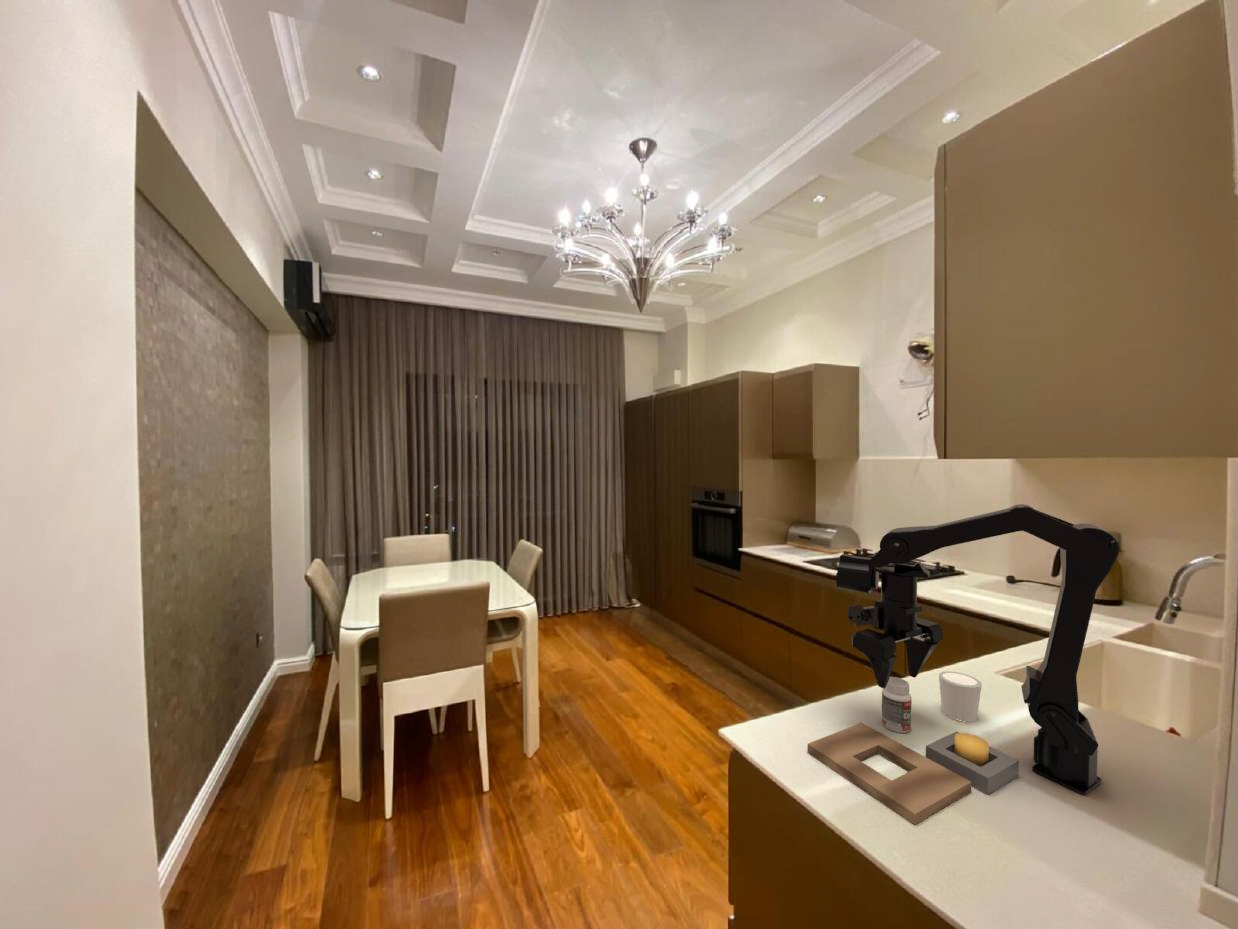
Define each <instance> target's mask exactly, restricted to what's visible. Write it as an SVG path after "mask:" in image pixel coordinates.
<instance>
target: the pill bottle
mask: <svg viewBox="0 0 1238 929" xmlns="http://www.w3.org/2000/svg"><path fill="white" fill-rule="evenodd" d="M881 724H882V726H884V728H886V729H888V730H890V731H893V732H895V733H899V734H906V733H910V731H912V730H911V729H912V695H911V694H910V684H909V682H908V681H907V680H905V679H903V678H901V677H897V676H890V678H889V681H888V683H887V685H886V688H884V689H883V688H882V690H881Z"/></svg>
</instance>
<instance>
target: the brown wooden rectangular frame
mask: <svg viewBox="0 0 1238 929" xmlns="http://www.w3.org/2000/svg"><path fill="white" fill-rule="evenodd" d="M806 752H807V753H808V754H809V755H810V756H811V757H813V758H815V759H816V760H818V761H819V762H821V763H822V764H824V765H825V766H827V767H828V768H829V769H831V770H833V771H834V772H835V773H837V774H839V775H840V776H842V777H843V778H844V779H846V780H847V781H849V782H850V783H851V784H854V785H855V786H856V787H858V788H859V789H861V790H862V791H864V792H865V793H867V794H868V795H870V796H871V797H873V798H874V799H876V800H877V801H879V802H880V803H882V804H883V805H885V806H886V807H888V808H889V809H890V810H892V811H893V812H894V813H897V815H899V816H901V817H902V818H904V819H905V820H907V821H908V822H909V823H911V824H912V825H914V826H915V825H918V824H919V823H921V822H922V821H925V820H926V819H927V818H929V817H931V816H933V815H935V814H937V812H940V811H941V810H943V809H944V808H946V807H948V806H950V805H951V804H954V803H955V802H957V801H959V800H960V799H962V798H964V797H965V796H966V795H969V794H970V793H971V792H972V786H971V781H969V780H967V779H965V778H963V777H961V776H960V775H958V774H956V773H954V772H952V771H950V770H948V769H947V768H945V767H943V766H941V765H939V764H937V763H936V762H934V761H932V760H930V759H928V758H926V756H924V755H923V754H921V753H919V752H916V751H915V750H913V749H912V748H909V747H908V746H905V745H904V744H903V743H900V742H899V741H897V740H895V739H894V738H891V737H889V736H887V735H885V734H884V733H882V732H880V731H878V730H876V729H875V728H873V727H871V726H869V725H867V724H865V723H863V722H859V723H857V724H854V725H852V726H849V727H847V728H844V729H841V730H840V731H836V732H834V733H832V734H829V735H826V736H824V737H821V738H819V739H816V740H813V741H811V742H809V743H807V751H806ZM876 755H879V756H880V757H881V756H882V757H883V758H885V759H886V760H888V761H889V762H891V763H893V764H895V765H897V766H898V767H900V768H901V769H903V770H905V771H907V772H906V773H904V774H902V775H900V776H898V777H896V778H894V779H892V780H891V779H890V778H888V777H887V776H885V775H883V774H882V773H881V772H878V771H877V770H875V769H874V768H872V767H871V766H869V765H867V764H866V763H864V762H863V761H865V760H867V759H870V758H871V757H874V756H876Z"/></svg>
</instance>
